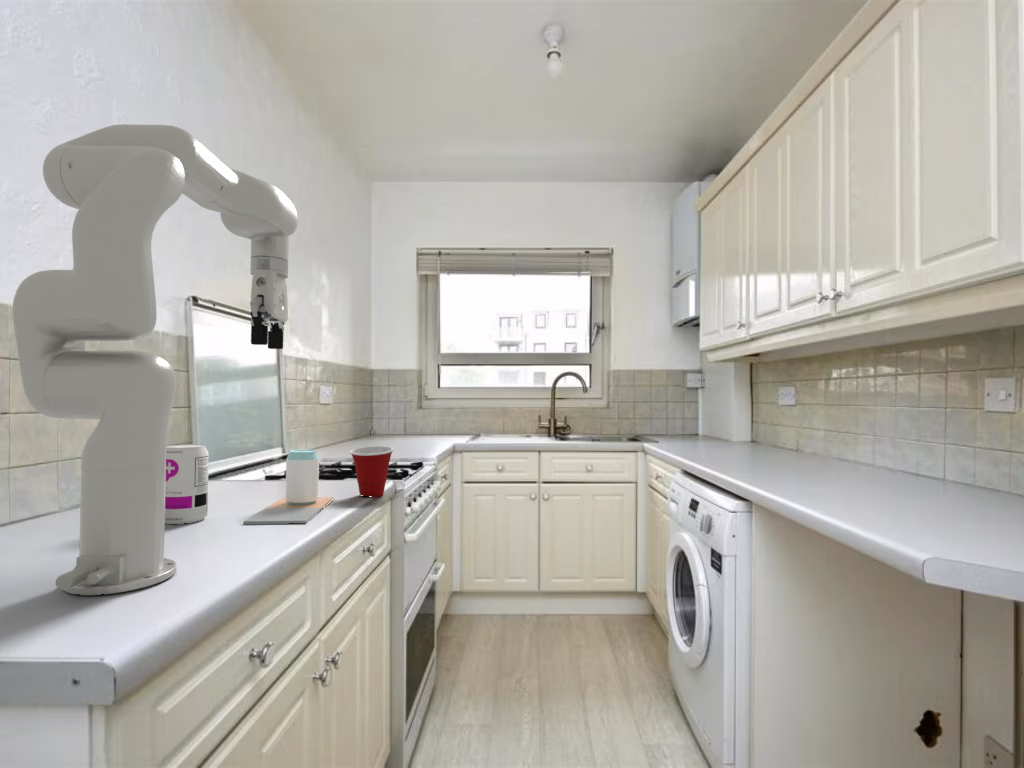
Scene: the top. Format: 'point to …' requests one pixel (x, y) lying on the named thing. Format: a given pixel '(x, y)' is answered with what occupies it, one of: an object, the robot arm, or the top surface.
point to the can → (302, 477)
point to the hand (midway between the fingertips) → (267, 346)
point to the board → (288, 512)
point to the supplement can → (186, 483)
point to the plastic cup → (371, 469)
